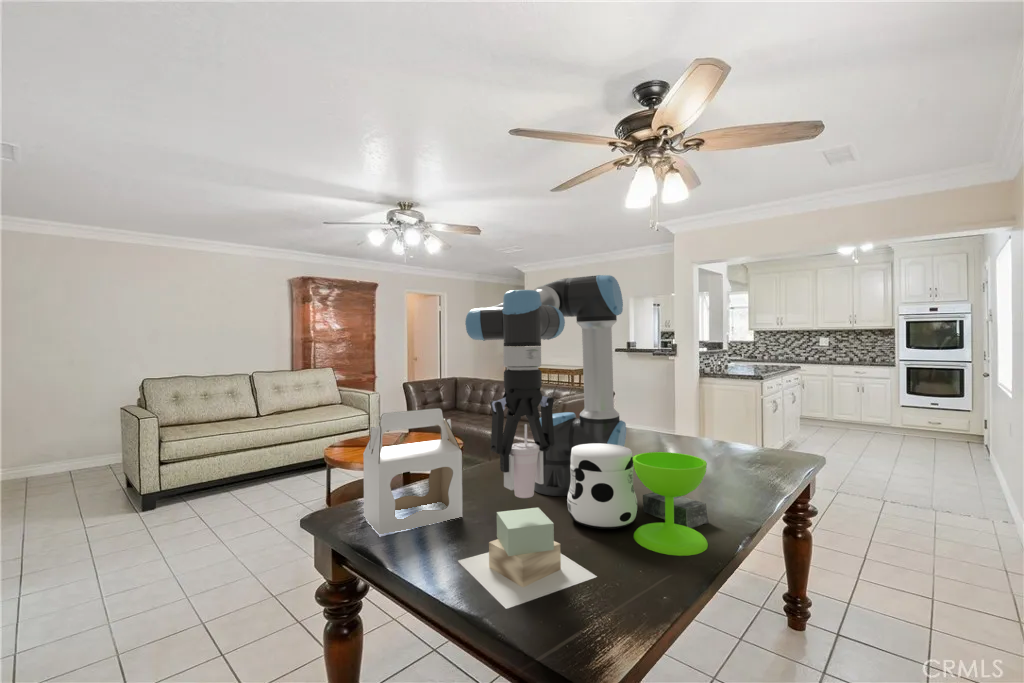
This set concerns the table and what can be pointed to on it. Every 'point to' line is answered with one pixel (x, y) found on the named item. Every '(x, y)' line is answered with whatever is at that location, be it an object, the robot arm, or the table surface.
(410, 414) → the gable box
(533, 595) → the felt mat
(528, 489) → the smoothie
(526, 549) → the sage block
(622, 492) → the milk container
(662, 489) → the wineglass
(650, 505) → the stone block
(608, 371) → the robot arm
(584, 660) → the table surface
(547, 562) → the beech tray
